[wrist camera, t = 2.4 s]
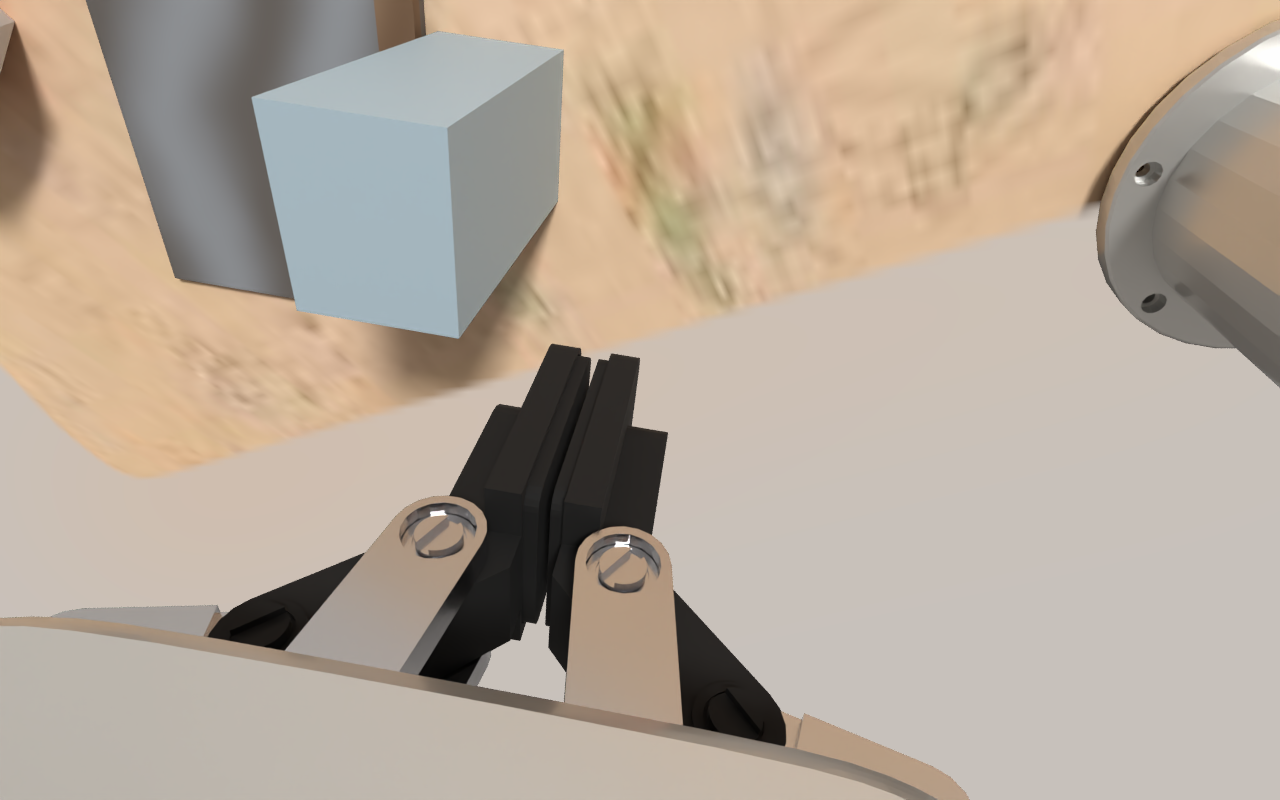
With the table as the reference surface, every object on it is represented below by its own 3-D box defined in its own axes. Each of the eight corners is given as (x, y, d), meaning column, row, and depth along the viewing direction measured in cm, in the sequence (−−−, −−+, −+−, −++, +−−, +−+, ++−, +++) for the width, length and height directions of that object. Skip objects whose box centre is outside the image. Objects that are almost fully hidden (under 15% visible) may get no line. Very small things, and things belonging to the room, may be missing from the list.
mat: (408, -210, 22) (396, -215, 22) (445, 320, 34) (437, 330, 33) (11, -262, 23) (-16, -268, 22) (180, 274, 35) (166, 283, 34)
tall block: (563, 49, 26) (447, 128, 17) (557, 201, 30) (459, 338, 20) (438, 31, 26) (251, 97, 17) (447, 183, 30) (297, 310, 20)
